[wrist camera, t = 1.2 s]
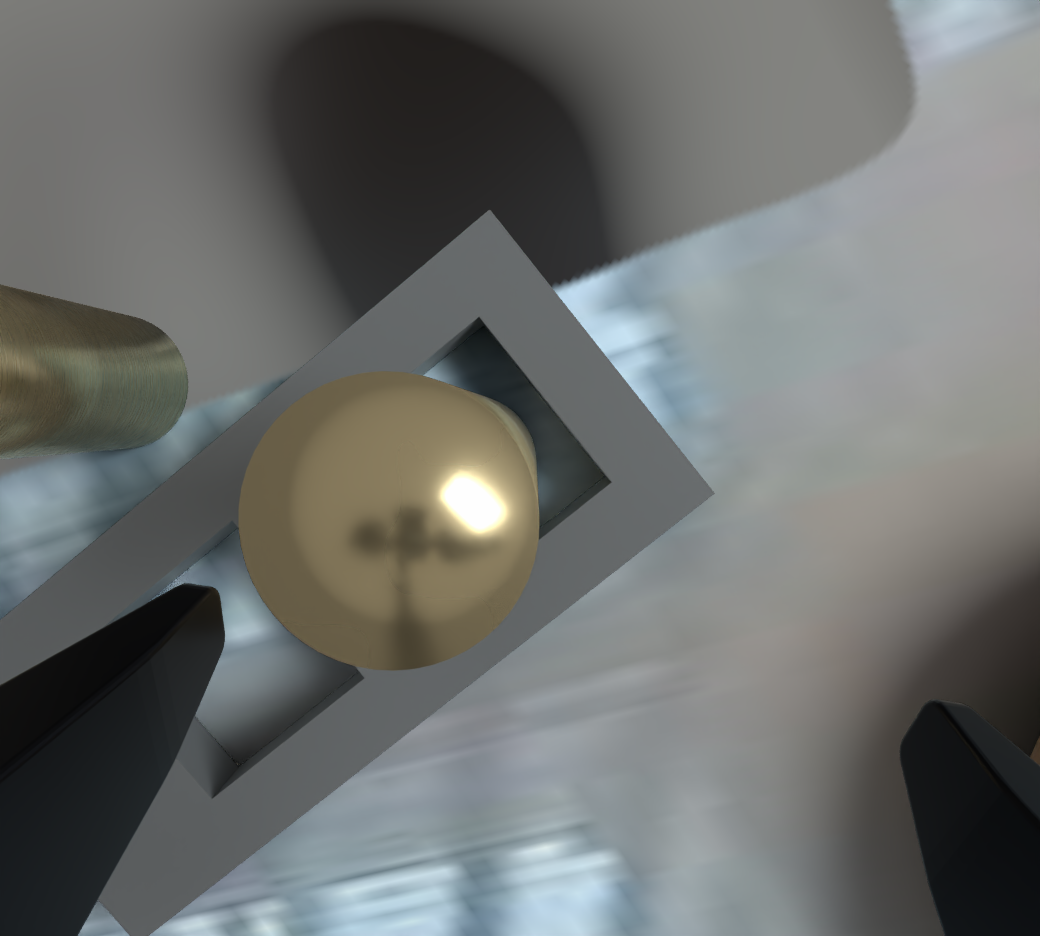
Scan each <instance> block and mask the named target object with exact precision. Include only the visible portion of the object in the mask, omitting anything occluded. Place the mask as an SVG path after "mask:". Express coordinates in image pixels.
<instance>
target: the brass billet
mask: <svg viewBox="0 0 1040 936" xmlns="http://www.w3.org/2000/svg"><path fill="white" fill-rule="evenodd" d="M187 393H188V377H187V371H186V367H185V363H184V361H183V358H182V356H181V354H180V352H179V350H178V348H177V347H176V345H175V344H174V343H173V341H172V340H171V339H170V338H169V337H168V336H167V335H166V334H165V333H164V332H163V331H162V330H161V329H159V328H158V327H156V326H155V325H153V324H152V323H149V322H147V321H145V320H143V319H140V318H136V317H133V316H129V315H124V314H120V313H116V312H112V311H108V310H104V309H100V308H95V307H91V306H87V305H83V304H79V303H74V302H71V301H67V300H63V299H58V298H54V297H50V296H46V295H42V294H37V293H34V292H29V291H25V290H21V289H16V288H13V287H9V286H4V285H1V284H0V460H1V459H12V458H24V457H36V456H47V455H59V454H71V453H82V452H94V451H106V450H117V449H129V448H137V447H142V446H145V445H148V444H150V443H153V442H154V441H156V440H158V439H160V438H161V437H162V436H164V435H165V434H166V433H167V432H168V431H169V430H171V429H172V427H173V426H174V425H175V424H176V422H177V421H178V419H179V417H180V416H181V414H182V411H183V409H184V407H185V403H186V399H187Z"/></svg>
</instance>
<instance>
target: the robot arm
mask: <svg viewBox="0 0 1040 936" xmlns="http://www.w3.org/2000/svg"><path fill="white" fill-rule="evenodd" d="M224 642H225V631H224V623H223V616H222V608H221V601H220V595H219V593H218V591H217V590H216V589H215V588H213V587H209V586H203V585H196V584H190V583H186V584H181V585H179V586H177V587H175V588H173V589H171V590H170V591H168V592H166V593H164V594H162V595H161V596H159V597H157V598H155V599H153V600H152V601H150V602H148V603H146V604H144V605H143V606H141V607H139V608H137V609H135V610H134V611H132V612H130V613H128V614H126V615H125V616H123V617H121V618H119V619H117V620H116V621H114V622H112V623H110V624H108V625H107V626H105V627H103V628H101V629H99V630H98V631H96V632H94V633H92V634H90V635H89V636H87V637H85V638H83V639H81V640H80V641H78V642H76V643H74V644H72V645H71V646H69V647H67V648H65V649H64V650H62V651H60V652H58V653H56V654H55V655H53V656H51V657H49V658H47V659H46V660H44V661H42V662H40V663H38V664H37V665H35V666H33V667H31V668H29V669H28V670H26V671H24V672H22V673H20V674H19V675H17V676H15V677H13V678H11V679H10V680H8V681H6V682H4V683H2V684H1V685H0V936H78V934H79V932H80V930H81V929H82V927H83V925H84V923H85V922H86V920H87V918H88V916H89V914H90V913H91V911H92V909H93V907H94V906H95V904H96V902H97V900H98V898H99V897H100V895H101V893H102V891H103V890H104V888H105V886H106V884H107V882H108V881H109V879H110V877H111V875H112V874H113V872H114V870H115V868H116V866H117V865H118V863H119V861H120V859H121V858H122V856H123V854H124V852H125V850H126V849H127V847H128V845H129V843H130V842H131V840H132V838H133V836H134V834H135V833H136V831H137V829H138V827H139V825H140V824H141V822H142V820H143V818H144V817H145V815H146V813H147V811H148V809H149V808H150V806H151V804H152V802H153V801H154V799H155V797H156V795H157V793H158V792H159V790H160V788H161V786H162V785H163V783H164V781H165V779H166V777H167V775H168V773H169V771H170V770H171V768H172V766H173V764H174V762H175V759H176V757H177V755H178V753H179V751H180V749H181V746H182V744H183V742H184V739H185V737H186V735H187V732H188V730H189V728H190V725H191V723H192V721H193V718H194V716H195V714H196V712H197V709H198V707H199V705H200V702H201V700H202V698H203V695H204V693H205V691H206V688H207V686H208V684H209V681H210V679H211V677H212V674H213V672H214V670H215V667H216V665H217V663H218V660H219V658H220V656H221V653H222V650H223V647H224ZM900 761H901V766H902V770H903V775H904V779H905V784H906V788H907V793H908V797H909V802H910V806H911V811H912V815H913V820H914V824H915V829H916V833H917V838H918V842H919V847H920V851H921V856H922V860H923V864H924V868H925V872H926V876H927V880H928V884H929V887H930V890H931V894H932V897H933V900H934V904H935V907H936V910H937V913H938V916H939V919H940V922H941V925H942V928H943V931H944V934H945V936H1040V765H1039V764H1037V763H1036V762H1035V761H1034V760H1033V759H1031V758H1030V757H1029V756H1028V755H1027V754H1025V753H1024V752H1023V751H1022V750H1021V749H1020V748H1018V747H1017V746H1016V745H1015V744H1014V743H1012V742H1011V741H1010V740H1009V739H1008V738H1006V737H1005V736H1004V735H1003V734H1002V733H1000V732H999V731H998V730H997V729H996V728H995V727H993V726H992V725H991V724H990V723H989V722H987V721H986V720H985V719H984V718H983V717H981V716H980V715H979V714H978V713H977V712H975V711H974V710H973V709H972V708H970V707H969V706H967V705H965V704H962V703H957V702H951V701H944V700H938V699H934V700H930V701H928V702H927V703H925V705H924V706H923V707H922V709H921V710H920V712H919V714H918V715H917V717H916V718H915V720H914V722H913V723H912V725H911V726H910V728H909V729H908V731H907V733H906V734H905V736H904V737H903V739H902V742H901V746H900Z"/></svg>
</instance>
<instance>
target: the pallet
mask: <svg viewBox="0 0 1040 936" xmlns="http://www.w3.org/2000/svg"><path fill="white" fill-rule="evenodd" d="M483 325H484V326H485V327H486V328H487V330H488V331H489V332H490V333H491V335H492V336H493V337H494V338H495V340H496V341H497V342H498V343H499V345H500V346H501V347H502V348H503V350H504V351H505V352H506V353H507V355H508V356H509V357H510V358H511V360H512V361H513V362H514V363H515V365H516V366H517V367H518V368H519V370H520V371H521V372H522V373H523V375H524V376H525V377H526V378H527V380H528V381H529V382H530V383H531V385H532V386H533V387H534V388H535V390H536V391H537V392H538V393H539V394H540V396H541V397H542V398H543V399H544V401H545V402H546V403H547V404H548V406H549V407H550V408H551V409H552V411H553V412H554V413H555V414H556V416H557V417H558V418H559V419H560V421H561V422H562V423H563V424H564V426H565V427H566V428H567V429H568V431H569V432H570V433H571V434H572V436H573V437H574V438H575V439H576V441H577V442H578V443H579V444H580V446H581V447H582V448H583V449H584V451H585V452H586V453H587V454H588V456H589V457H590V458H591V459H592V461H593V462H594V463H595V464H596V466H597V467H598V468H599V469H600V471H601V472H602V473H603V474H604V476H605V477H604V478H602V479H601V480H600V481H599V482H597V483H596V484H595V485H594V486H592V487H591V488H590V489H589V490H587V491H586V492H585V493H584V494H582V495H581V496H580V497H579V498H577V499H576V500H575V501H573V502H572V503H571V504H570V505H568V506H567V507H566V508H565V509H563V510H562V511H561V512H560V513H558V514H557V515H556V516H555V517H553V518H552V519H551V520H550V521H548V522H547V523H546V524H544V525H543V526H542V527H541V528H539V541H538V546H537V552H536V557H535V561H534V565H533V568H532V571H531V574H530V577H529V579H528V582H527V584H526V586H525V588H524V590H523V592H522V594H521V596H520V598H519V599H518V601H517V602H516V604H515V605H514V607H513V608H512V610H511V612H510V613H509V614H508V615H507V616H506V617H505V619H504V620H503V621H502V622H501V623H500V624H499V626H498V627H497V628H495V629H494V630H493V631H492V632H491V633H490V634H489V635H488V636H487V637H485V638H484V639H483V640H482V641H480V642H479V643H477V644H476V645H474V646H473V647H471V648H470V649H468V650H467V651H465V652H463V653H461V654H459V655H457V656H455V657H453V658H451V659H448V660H445V661H443V662H440V663H437V664H434V665H431V666H426V667H421V668H416V669H409V670H397V671H390V670H373V669H368V668H362V667H356V666H355V667H356V668H357V670H358V671H359V672H358V673H357V674H356V675H354V676H353V677H352V678H350V679H349V680H348V681H347V682H345V683H344V684H343V685H342V686H340V687H339V688H338V689H337V690H335V691H334V692H333V693H332V694H330V695H329V696H328V697H327V698H325V699H324V700H323V701H321V702H320V703H319V704H318V705H316V706H315V707H314V708H313V709H311V710H310V711H309V712H308V713H306V714H305V715H304V716H303V717H301V718H300V719H299V720H298V721H296V722H295V723H294V724H293V725H291V726H290V727H289V728H287V729H286V730H285V731H284V732H282V733H281V734H280V735H279V736H277V737H276V738H275V739H274V740H272V741H271V742H270V743H269V744H267V745H266V746H265V747H264V748H262V749H261V750H260V751H258V752H257V753H256V754H255V755H253V756H252V757H251V758H250V759H248V760H247V761H246V762H245V763H243V764H242V765H241V766H240V767H238V766H237V765H236V764H235V763H234V761H233V760H232V759H231V758H230V757H229V756H228V754H227V753H226V752H225V751H224V750H223V749H222V747H221V746H220V745H219V744H218V743H217V742H216V740H215V739H214V738H213V737H212V736H211V735H210V733H209V732H208V731H207V730H206V729H205V728H204V726H203V725H202V724H201V723H200V722H199V721H198V719H197V718H196V717H195V716H194V718H193V721H192V723H191V725H190V728H189V730H188V732H187V735H186V737H185V739H184V742H183V744H182V746H181V749H180V751H179V753H178V755H177V757H176V759H175V762H174V764H173V766H172V768H171V770H170V771H169V773H168V775H167V777H166V779H165V781H164V783H163V785H162V786H161V788H160V790H159V792H158V793H157V795H156V797H155V799H154V801H153V802H152V804H151V806H150V808H149V809H148V811H147V813H146V815H145V817H144V818H143V820H142V822H141V824H140V825H139V827H138V829H137V831H136V833H135V834H134V836H133V838H132V840H131V842H130V843H129V845H128V847H127V849H126V850H125V852H124V854H123V856H122V858H121V859H120V861H119V863H118V865H117V866H116V868H115V870H114V872H113V874H112V875H111V877H110V879H109V881H108V882H107V884H106V886H105V888H104V890H103V891H102V893H101V895H100V897H99V898H98V900H99V901H100V902H101V903H102V904H103V906H104V907H105V908H106V909H107V910H108V911H109V912H110V914H111V915H112V916H113V917H114V918H115V919H116V920H117V921H118V923H119V924H120V925H121V926H122V927H123V928H124V929H125V931H126V932H127V933H128V934H129V935H130V936H149V935H150V934H151V933H153V932H154V931H155V930H156V929H158V928H159V927H160V926H162V925H163V924H164V923H165V922H167V921H168V920H169V919H170V918H172V917H173V916H174V915H176V914H177V913H178V912H179V911H181V910H182V909H183V908H185V907H186V906H187V905H188V904H190V903H191V902H192V901H194V900H195V899H196V898H197V897H199V896H200V895H201V894H202V893H204V892H205V891H206V890H208V889H209V888H210V887H211V886H213V885H214V884H215V883H217V882H218V881H219V880H220V879H222V878H223V877H224V876H226V875H227V874H228V873H229V872H231V871H232V870H233V869H234V868H236V867H237V866H238V865H240V864H241V863H242V862H243V861H245V860H246V859H247V858H249V857H250V856H251V855H252V854H254V853H255V852H256V851H258V850H259V849H260V848H261V847H263V846H264V845H265V844H267V843H268V842H269V841H270V840H272V839H273V838H274V837H275V836H277V835H278V834H279V833H281V832H282V831H283V830H284V829H286V828H287V827H288V826H290V825H291V824H292V823H293V822H295V821H296V820H297V819H299V818H300V817H301V816H302V815H304V814H305V813H306V812H307V811H309V810H310V809H311V808H313V807H314V806H315V805H316V804H318V803H319V802H320V801H322V800H323V799H324V798H325V797H327V796H328V795H329V794H331V793H332V792H333V791H334V790H336V789H337V788H338V787H339V786H341V785H342V784H343V783H345V782H346V781H347V780H348V779H350V778H351V777H352V776H354V775H355V774H356V773H357V772H359V771H360V770H361V769H363V768H364V767H365V766H366V765H368V764H369V763H370V762H371V761H373V760H374V759H375V758H377V757H378V756H379V755H380V754H382V753H383V752H384V751H386V750H387V749H388V748H389V747H391V746H392V745H393V744H395V743H396V742H397V741H398V740H400V739H401V738H402V737H403V736H405V735H406V734H407V733H409V732H410V731H411V730H412V729H414V728H415V727H416V726H418V725H419V724H420V723H421V722H423V721H424V720H425V719H427V718H428V717H429V716H430V715H432V714H433V713H434V712H436V711H437V710H438V709H439V708H441V707H442V706H443V705H444V704H446V703H447V702H448V701H450V700H451V699H452V698H453V697H455V696H456V695H457V694H459V693H460V692H461V691H462V690H464V689H465V688H466V687H468V686H469V685H470V684H471V683H473V682H474V681H475V680H476V679H478V678H479V677H480V676H482V675H483V674H484V673H485V672H487V671H488V670H489V669H491V668H492V667H493V666H494V665H496V664H497V663H498V662H500V661H501V660H502V659H503V658H505V657H506V656H507V655H508V654H510V653H511V652H512V651H514V650H515V649H516V648H517V647H519V646H520V645H521V644H523V643H524V642H525V641H526V640H528V639H529V638H530V637H532V636H533V635H534V634H535V633H537V632H538V631H539V630H540V629H542V628H543V627H544V626H546V625H547V624H548V623H549V622H551V621H552V620H553V619H555V618H556V617H557V616H558V615H560V614H561V613H562V612H564V611H565V610H566V609H567V608H569V607H570V606H571V605H572V604H574V603H575V602H576V601H578V600H579V599H580V598H581V597H583V596H584V595H585V594H587V593H588V592H589V591H590V590H592V589H593V588H594V587H596V586H597V585H598V584H599V583H601V582H602V581H603V580H605V579H606V578H607V577H608V576H610V575H611V574H612V573H613V572H615V571H616V570H617V569H619V568H620V567H621V566H622V565H624V564H625V563H626V562H628V561H629V560H630V559H631V558H633V557H634V556H635V555H637V554H638V553H639V552H640V551H642V550H643V549H644V548H645V547H647V546H648V545H649V544H651V543H652V542H653V541H654V540H656V539H657V538H658V537H660V536H661V535H662V534H663V533H665V532H666V531H667V530H669V529H670V528H671V527H672V526H674V525H675V524H676V523H677V522H679V521H680V520H681V519H683V518H684V517H685V516H686V515H688V514H689V513H690V512H692V511H693V510H694V509H695V508H697V507H698V506H699V505H701V504H702V503H703V502H704V501H706V500H707V499H708V498H709V497H711V496H712V495H713V494H715V493H714V492H713V491H712V489H711V488H710V487H709V486H708V484H707V483H706V482H705V481H704V479H703V478H702V477H701V476H700V474H699V473H698V472H697V471H696V469H695V468H694V467H693V465H692V464H691V463H690V462H689V460H688V459H687V458H686V457H685V455H684V454H683V453H682V452H681V450H680V449H679V448H678V447H677V445H676V444H675V443H674V442H673V440H672V439H671V438H670V436H669V435H668V434H667V433H666V431H665V430H664V429H663V428H662V426H661V425H660V424H659V423H658V421H657V420H656V419H655V418H654V416H653V415H652V414H651V412H650V411H649V410H648V409H647V407H646V406H645V405H644V404H643V402H642V401H641V400H640V399H639V397H638V396H637V395H636V394H635V392H634V391H633V390H632V389H631V387H630V386H629V385H628V383H627V382H626V381H625V380H624V378H623V377H622V376H621V375H620V373H619V372H618V371H617V370H616V368H615V367H614V366H613V365H612V363H611V362H610V361H609V359H608V358H607V357H606V356H605V354H604V353H603V352H602V351H601V349H600V348H599V347H598V346H597V344H596V343H595V342H594V341H593V339H592V338H591V337H590V335H589V334H588V333H587V332H586V330H585V329H584V328H583V327H582V325H581V324H580V323H579V322H578V320H577V319H576V318H575V317H574V315H573V314H572V313H571V312H570V310H569V309H568V308H567V306H566V305H565V304H564V303H563V301H562V300H561V299H560V298H559V296H558V295H557V294H556V293H555V291H554V290H553V289H552V288H551V286H550V285H549V284H548V282H547V281H546V280H545V279H544V277H543V276H542V275H541V274H540V272H539V271H538V270H537V269H536V267H535V266H534V265H533V264H532V262H531V261H530V260H529V259H528V257H527V256H526V255H525V253H524V252H523V251H522V250H521V248H520V247H519V246H518V245H517V243H516V242H515V241H514V240H513V238H512V237H511V236H510V235H509V233H508V232H507V231H506V229H505V228H504V227H503V226H502V224H501V223H500V222H499V221H498V219H497V218H496V217H495V216H494V214H493V213H492V212H491V211H490V210H489V211H487V212H486V213H485V214H484V215H483V216H482V217H480V218H479V219H478V220H477V221H475V222H474V223H473V224H472V225H471V226H470V227H468V228H467V229H466V230H465V231H464V232H463V233H461V234H460V235H459V236H458V237H456V238H455V239H454V240H453V241H452V242H450V243H449V244H448V245H447V246H446V247H444V248H443V249H442V250H441V251H440V252H439V253H437V254H436V255H435V256H434V257H433V258H431V259H430V260H429V261H428V262H427V263H425V264H424V265H423V266H422V267H421V268H419V269H418V270H417V271H416V272H415V273H414V274H412V275H411V276H410V277H409V278H407V279H406V280H405V281H404V282H403V283H402V284H400V285H399V286H398V287H397V288H396V289H394V291H392V292H391V293H390V294H388V295H387V296H386V297H385V298H384V299H382V300H381V301H380V302H379V303H378V304H377V305H375V306H374V307H373V308H372V309H371V310H369V311H368V312H367V313H366V314H365V315H363V316H362V317H361V318H360V319H359V320H358V321H356V322H355V323H354V324H353V325H352V326H350V327H349V328H348V329H347V330H346V331H344V332H343V333H342V334H341V335H340V336H338V337H337V338H336V339H335V340H334V341H333V342H331V343H330V344H329V345H328V346H326V347H325V348H324V349H323V350H322V351H320V352H319V353H318V354H317V355H316V356H314V357H313V358H312V359H311V360H310V361H308V362H307V363H306V364H305V365H304V366H303V367H301V368H300V369H299V370H298V371H297V372H295V373H294V374H293V375H292V376H291V377H289V378H288V379H287V380H286V381H285V382H283V383H282V384H281V385H280V386H279V387H277V388H276V389H275V390H274V391H273V392H272V393H270V394H269V395H268V396H267V397H266V398H264V399H263V400H262V401H261V402H260V403H258V404H257V405H256V406H255V407H254V408H252V409H251V410H250V411H249V412H248V413H246V414H245V415H244V416H243V417H242V418H241V419H239V420H238V421H237V422H236V423H235V424H233V425H232V426H231V427H230V428H229V429H227V430H226V431H225V432H224V433H223V434H221V435H220V436H219V437H218V438H217V439H215V440H214V441H213V442H212V443H211V444H210V445H208V446H207V447H206V448H205V449H204V450H202V451H201V452H200V453H199V454H198V455H196V456H195V457H194V458H193V459H192V460H190V461H189V462H188V463H187V464H186V465H184V466H183V467H182V468H181V469H180V470H179V471H177V472H176V473H175V474H174V475H173V476H171V477H170V478H169V479H168V480H167V481H165V482H164V483H163V484H162V485H161V486H159V487H158V488H157V489H156V490H155V491H153V492H152V493H151V494H150V495H149V496H147V497H146V498H145V499H144V500H143V501H142V502H140V503H139V504H138V505H137V506H136V507H134V508H133V509H132V510H131V511H130V512H128V513H127V514H126V515H125V516H124V517H122V518H121V519H120V520H119V521H118V522H116V523H115V524H114V525H113V526H112V527H111V528H109V529H108V530H107V531H106V532H105V533H103V534H102V535H101V536H100V537H99V538H97V539H96V540H95V541H94V542H93V543H91V544H90V545H89V546H88V547H87V548H85V549H84V550H83V551H82V552H81V553H80V554H78V555H77V556H76V557H75V558H74V559H72V560H71V561H70V562H69V563H68V564H66V565H65V566H64V567H63V568H62V569H60V570H59V571H58V572H57V573H56V574H54V575H53V576H52V577H51V578H50V579H49V580H47V581H46V582H45V583H44V584H43V585H41V586H40V587H39V588H38V589H37V590H35V591H34V592H33V593H32V594H31V595H29V596H28V597H27V598H26V599H25V600H23V601H22V602H21V603H20V604H19V605H18V606H16V607H15V608H14V609H13V610H12V611H10V612H9V613H8V614H7V615H6V616H4V617H3V618H2V619H1V620H0V685H1V684H2V683H4V682H6V681H8V680H10V679H11V678H13V677H15V676H17V675H19V674H20V673H22V672H24V671H26V670H28V669H29V668H31V667H33V666H35V665H37V664H38V663H40V662H42V661H44V660H46V659H47V658H49V657H51V656H53V655H55V654H56V653H58V652H60V651H62V650H64V649H65V648H67V647H69V646H71V645H72V644H74V643H76V642H78V641H80V640H81V639H83V638H85V637H87V636H89V635H90V634H92V633H94V632H96V631H98V630H99V629H101V628H103V627H105V626H107V625H108V624H110V623H112V622H114V621H116V620H117V619H119V618H121V617H123V616H125V615H126V614H128V613H130V612H132V611H134V610H135V609H137V608H139V607H141V606H143V605H144V604H146V603H147V602H149V601H150V600H151V599H152V598H153V597H155V596H156V595H157V594H158V593H159V592H161V591H162V590H163V589H164V588H166V587H167V586H168V585H169V584H170V583H172V582H173V581H174V580H175V579H176V578H178V577H179V576H180V575H181V574H183V573H184V572H185V571H186V570H187V569H189V568H190V567H191V566H192V565H193V564H195V563H196V562H197V561H198V560H199V559H201V558H202V557H203V556H204V555H206V554H207V553H208V552H209V551H210V550H212V549H213V548H214V547H215V546H216V545H218V544H219V543H220V542H221V541H223V540H224V539H225V538H226V537H227V536H229V535H230V534H231V533H232V532H233V531H235V530H236V529H237V528H239V527H238V524H239V501H240V494H241V487H242V484H243V480H244V477H245V473H246V469H247V467H248V465H249V462H250V460H251V458H252V455H253V453H254V451H255V449H256V447H257V446H258V444H259V442H260V441H261V439H262V437H263V436H264V434H265V433H266V432H267V430H268V429H269V428H270V427H271V425H272V424H273V423H274V422H275V420H276V419H277V418H278V417H279V416H280V415H281V414H282V413H283V412H284V411H285V410H286V409H288V408H289V407H290V406H291V405H292V404H293V403H295V402H296V401H298V400H299V399H300V398H302V397H303V396H304V395H306V394H307V393H309V392H311V391H313V390H315V389H317V388H318V387H320V386H322V385H324V384H327V383H329V382H332V381H335V380H337V379H340V378H343V377H347V376H351V375H356V374H360V373H368V372H378V371H391V372H405V373H411V374H417V375H422V376H423V375H424V374H425V373H426V372H427V371H429V370H430V369H431V368H432V367H434V366H435V365H436V364H437V363H438V362H440V361H441V360H442V359H443V358H444V357H446V356H447V355H448V354H449V353H450V352H452V351H453V350H454V349H455V348H457V347H458V346H459V345H460V344H461V343H463V342H464V341H465V340H466V339H467V338H469V337H470V336H471V335H472V334H474V333H475V332H476V331H477V330H478V329H480V328H481V327H482V326H483Z"/></svg>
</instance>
